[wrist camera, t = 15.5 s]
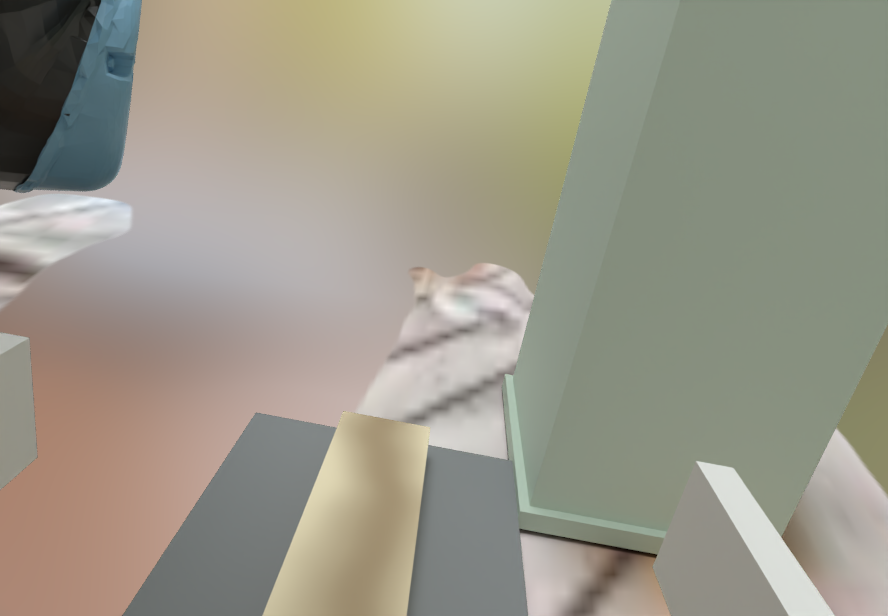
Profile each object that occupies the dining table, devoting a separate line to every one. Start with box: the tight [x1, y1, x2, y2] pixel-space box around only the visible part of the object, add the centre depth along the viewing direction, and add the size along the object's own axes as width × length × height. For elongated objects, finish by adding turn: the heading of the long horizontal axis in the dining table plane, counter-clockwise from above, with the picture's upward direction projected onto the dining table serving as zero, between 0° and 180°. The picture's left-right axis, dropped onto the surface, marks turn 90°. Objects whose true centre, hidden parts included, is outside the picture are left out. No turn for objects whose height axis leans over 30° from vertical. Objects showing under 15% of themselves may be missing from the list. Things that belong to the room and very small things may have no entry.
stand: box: [502, 0, 888, 554], centre depth 30 cm, size 13×14×30 cm
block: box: [262, 411, 430, 616], centre depth 21 cm, size 4×21×2 cm, turn 177°
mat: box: [122, 413, 528, 616], centre depth 24 cm, size 14×18×1 cm
